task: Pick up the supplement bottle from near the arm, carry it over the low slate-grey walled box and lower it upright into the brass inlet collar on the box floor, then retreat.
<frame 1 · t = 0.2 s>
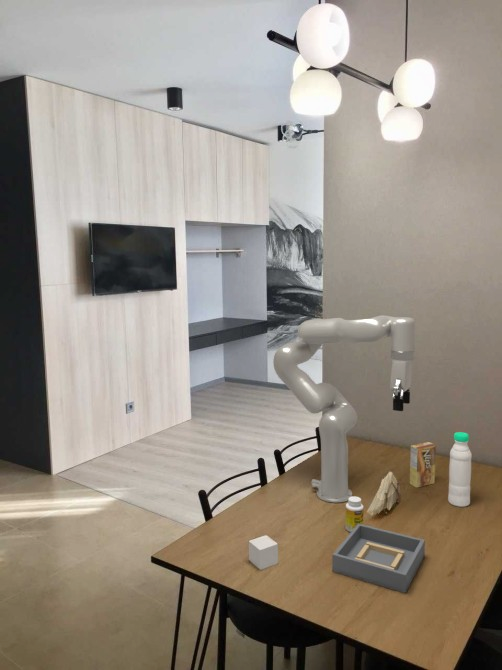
hand: (401, 406, 180), 36 cm above the table, tool pointing down, fingers open, 9 cm apart
water bottle: (458, 503, 190), on the table
white cube: (263, 562, 156), on the table
candy box: (422, 484, 206), on the table
supplement bottle: (354, 530, 174), on the table
walled box: (379, 563, 154), on the table
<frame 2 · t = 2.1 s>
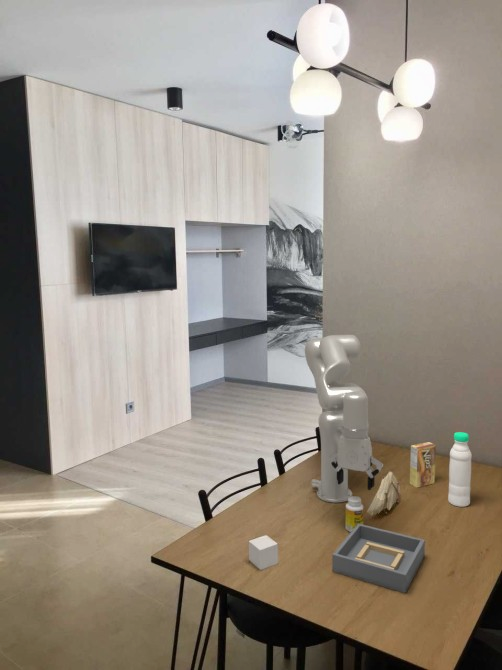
hand: (355, 485, 171), 15 cm above the table, tool pointing down, fingers open, 9 cm apart
nothing on the table moved.
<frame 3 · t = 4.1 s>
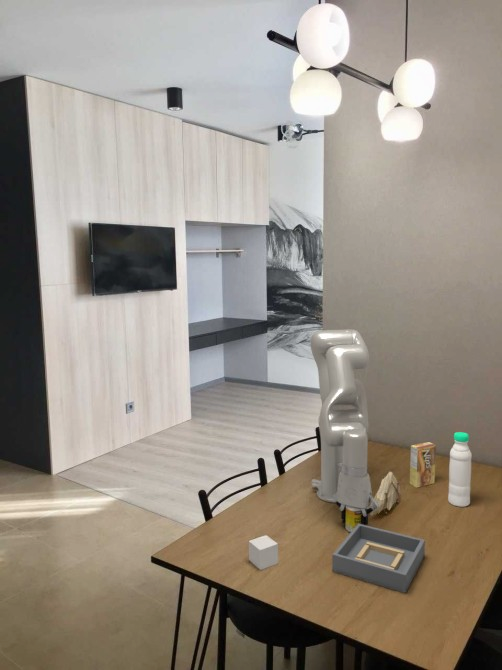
hand: (354, 523, 173), 2 cm above the table, tool pointing down, fingers closed on supplement bottle, 5 cm apart
supplement bottle: (354, 530, 173), on the table, touching gripper
everything else where it was.
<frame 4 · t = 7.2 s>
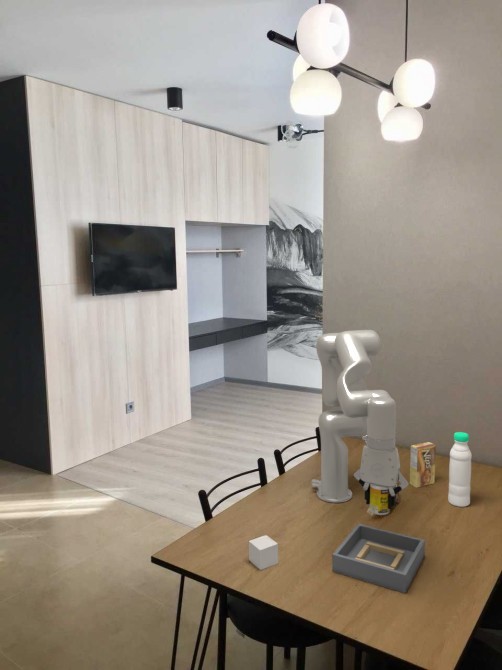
hand: (380, 504, 152), 18 cm above the table, tool pointing down, fingers closed on supplement bottle, 5 cm apart
supplement bottle: (379, 511, 152), point 15 cm above the table, touching gripper
everything else where it was.
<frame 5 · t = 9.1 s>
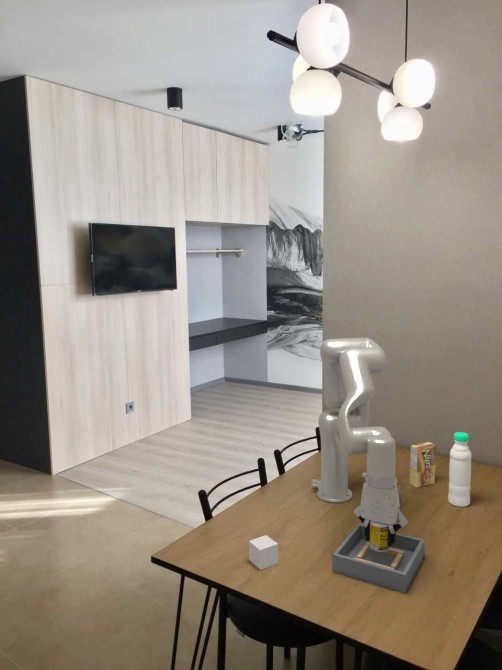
hand: (379, 541, 153), 7 cm above the table, tool pointing down, fingers closed on supplement bottle, 5 cm apart
supplement bottle: (379, 548, 153), point 5 cm above the table, touching gripper
everything else where it was.
when the fingers open (5 cm above the table, at t = 10.4 s): supplement bottle drops 2 cm, resting on walled box.
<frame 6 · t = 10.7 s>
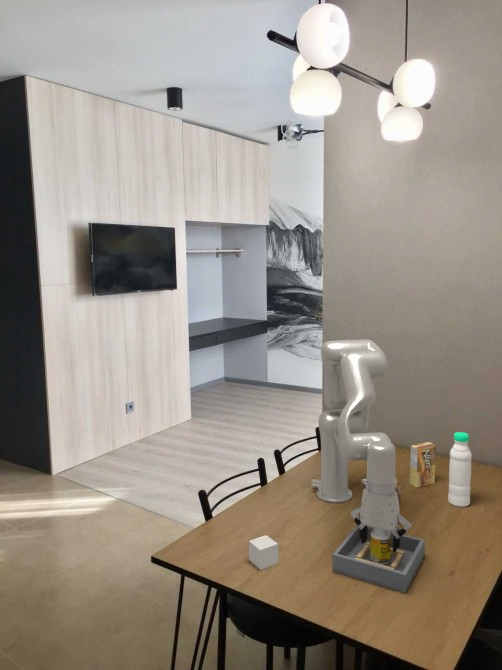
hand: (379, 545, 153), 6 cm above the table, tool pointing down, fingers open, 8 cm apart
supplement bottle: (380, 560, 154), point 1 cm above the table, touching walled box
everything else where it was.
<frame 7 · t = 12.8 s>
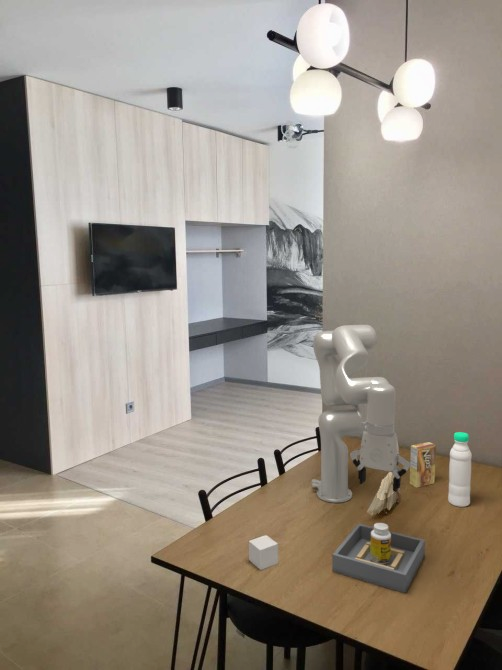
hand: (378, 485, 155), 21 cm above the table, tool pointing down, fingers open, 9 cm apart
nothing on the table moved.
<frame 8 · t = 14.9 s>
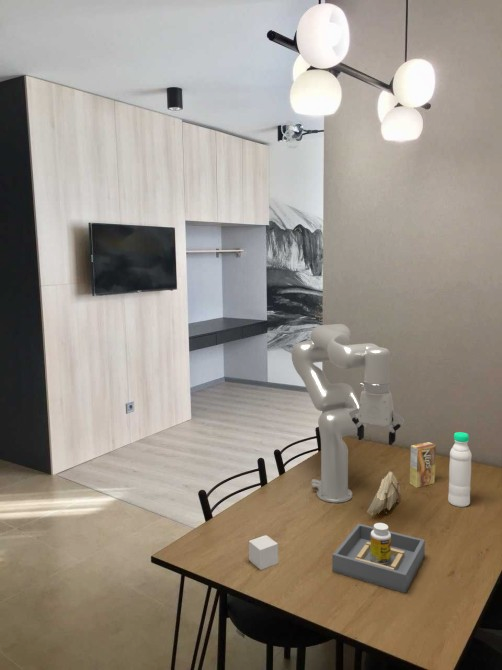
hand: (376, 441, 171), 28 cm above the table, tool pointing down, fingers open, 9 cm apart
nothing on the table moved.
at the end: supplement bottle 0.3 cm off-centre on the walled box, point 0.8 cm above the walled box's base; supplement bottle tilted 0°; the gripper is holding nothing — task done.
